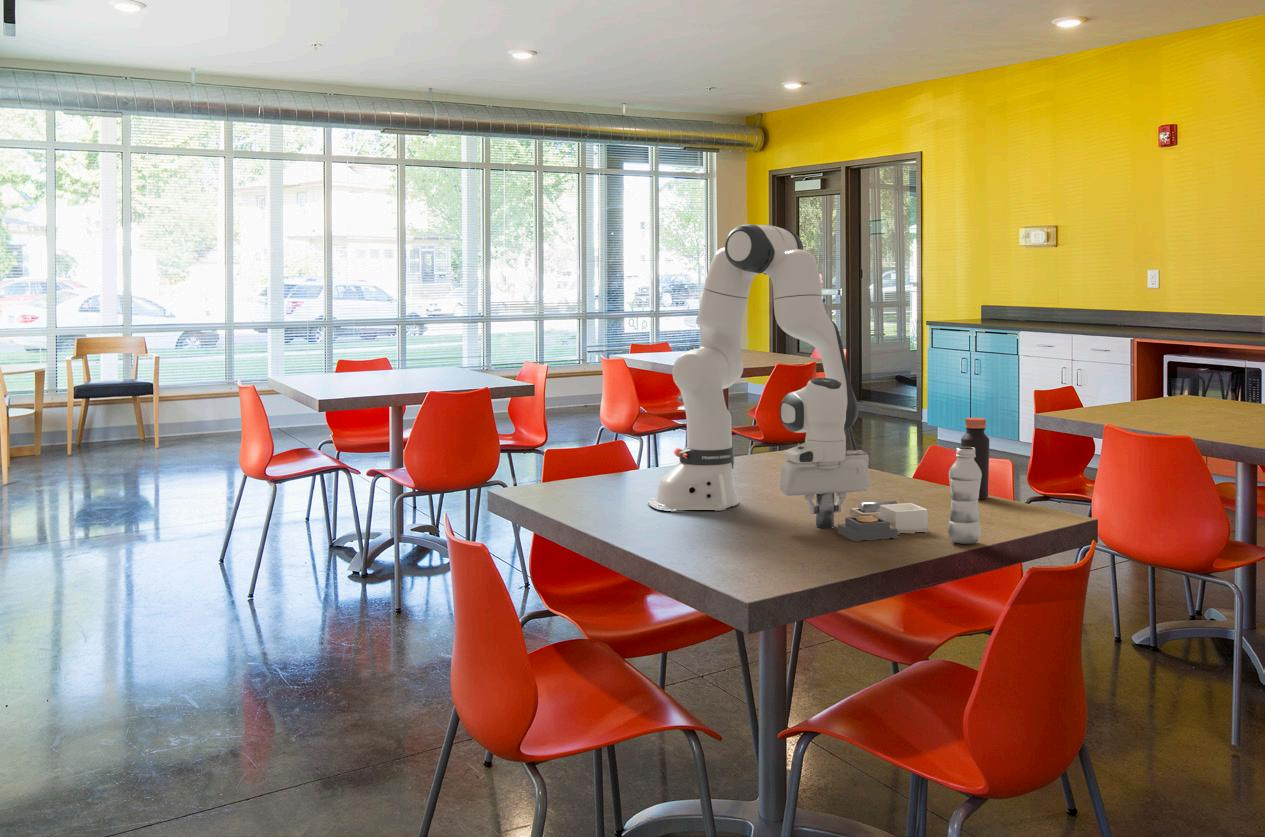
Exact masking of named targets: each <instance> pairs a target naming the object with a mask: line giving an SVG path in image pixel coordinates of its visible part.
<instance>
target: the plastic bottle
mask: <svg viewBox="0 0 1265 837" xmlns="http://www.w3.org/2000/svg"><path fill="white" fill-rule="evenodd" d="M955 457H956V460H955V461H954V462H953V464H952V466H950V468H949V471H948V481H949V487H950V498H951V500H950V501H951V502H950V503H951V504H950V515H949V521H948V525H947V527H948V528H947V535H948V538H949V540H950V541H951V542H952V543H955V544H960V545H969V544H976V543H978V542H979V540H980V539H981V535H982V527H981V522H980V514H979V512H980V510H979V500H978V499H979V490H980V484H981V477H982V473H981V470H980V468H979V466H978V465H977V463H976V462H975V461H974V458H975V457H976V455H975V448H973V447H961V446H958V447H956V454H955Z"/></svg>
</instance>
